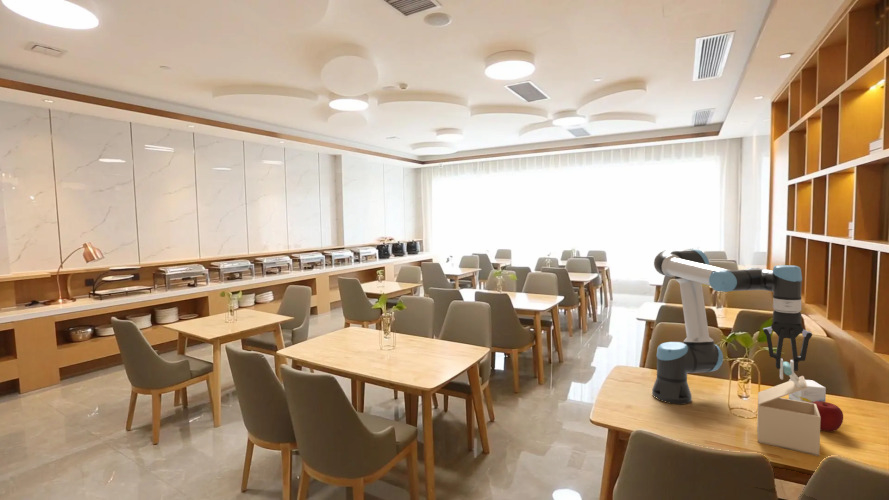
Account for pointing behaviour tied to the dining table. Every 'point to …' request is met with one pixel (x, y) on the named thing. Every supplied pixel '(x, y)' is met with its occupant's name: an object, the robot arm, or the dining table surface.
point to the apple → (829, 416)
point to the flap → (783, 387)
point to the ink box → (810, 393)
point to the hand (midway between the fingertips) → (786, 378)
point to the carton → (789, 425)
